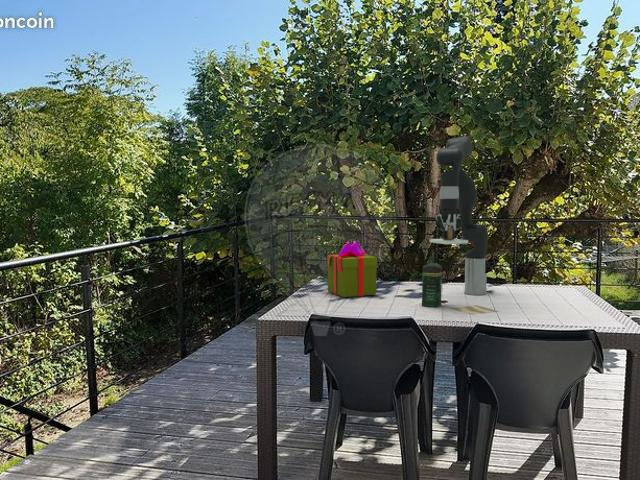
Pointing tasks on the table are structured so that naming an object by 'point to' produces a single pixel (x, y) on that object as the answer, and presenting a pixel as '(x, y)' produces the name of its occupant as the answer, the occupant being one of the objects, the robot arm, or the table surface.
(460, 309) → the mat
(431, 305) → the coffee jar
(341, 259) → the gift box
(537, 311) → the table surface
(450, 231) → the peg stand
